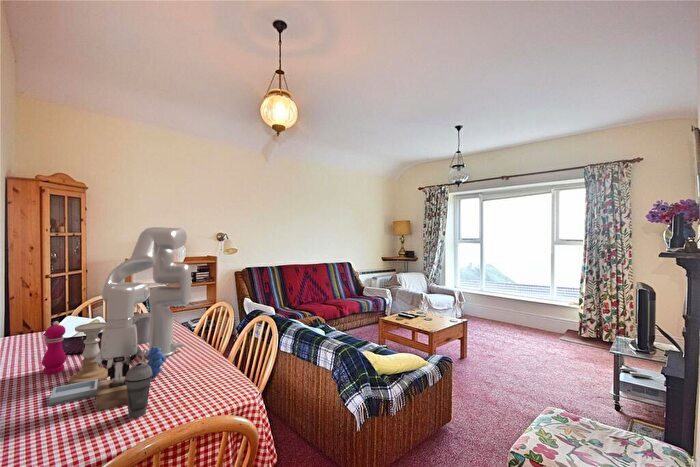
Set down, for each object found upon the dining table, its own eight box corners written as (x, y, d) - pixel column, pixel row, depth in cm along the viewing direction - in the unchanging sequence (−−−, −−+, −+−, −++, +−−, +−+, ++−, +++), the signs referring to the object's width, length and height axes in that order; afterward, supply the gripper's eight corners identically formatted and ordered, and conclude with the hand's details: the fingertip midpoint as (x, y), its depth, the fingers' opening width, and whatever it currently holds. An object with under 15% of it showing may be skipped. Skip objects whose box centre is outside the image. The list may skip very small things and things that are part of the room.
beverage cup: (132, 408, 103) (134, 345, 103) (155, 407, 103) (158, 345, 104) (117, 420, 95) (120, 353, 96) (143, 420, 96) (145, 353, 96)
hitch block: (135, 388, 116) (136, 374, 116) (137, 401, 107) (138, 386, 107) (96, 396, 109) (97, 382, 109) (95, 411, 100) (96, 395, 100)
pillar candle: (131, 339, 168) (132, 311, 168) (153, 337, 173) (153, 309, 173) (128, 345, 160) (129, 315, 160) (151, 343, 164) (152, 313, 164)
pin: (123, 392, 110) (124, 353, 111) (123, 396, 108) (125, 356, 108) (111, 395, 109) (113, 355, 109) (111, 399, 106) (113, 358, 106)
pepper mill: (50, 376, 123) (53, 324, 123) (36, 374, 125) (38, 322, 125) (70, 369, 130) (72, 319, 131) (56, 367, 132) (58, 318, 132)
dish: (97, 385, 117) (98, 379, 117) (96, 396, 109) (97, 388, 109) (53, 394, 109) (53, 387, 109) (49, 406, 102) (49, 398, 102)
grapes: (171, 377, 125) (172, 346, 125) (152, 383, 120) (153, 351, 120) (161, 368, 133) (162, 340, 133) (142, 373, 128) (143, 343, 128)
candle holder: (64, 388, 114) (66, 331, 115) (74, 374, 125) (77, 323, 126) (106, 381, 120) (108, 328, 120) (113, 369, 131) (115, 320, 131)
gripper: (147, 317, 116) (145, 367, 116) (89, 323, 106) (87, 378, 106) (149, 322, 110) (147, 375, 110) (88, 329, 100) (86, 387, 100)
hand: (118, 376), depth 108 cm, fingers closed on pin, 3 cm apart
